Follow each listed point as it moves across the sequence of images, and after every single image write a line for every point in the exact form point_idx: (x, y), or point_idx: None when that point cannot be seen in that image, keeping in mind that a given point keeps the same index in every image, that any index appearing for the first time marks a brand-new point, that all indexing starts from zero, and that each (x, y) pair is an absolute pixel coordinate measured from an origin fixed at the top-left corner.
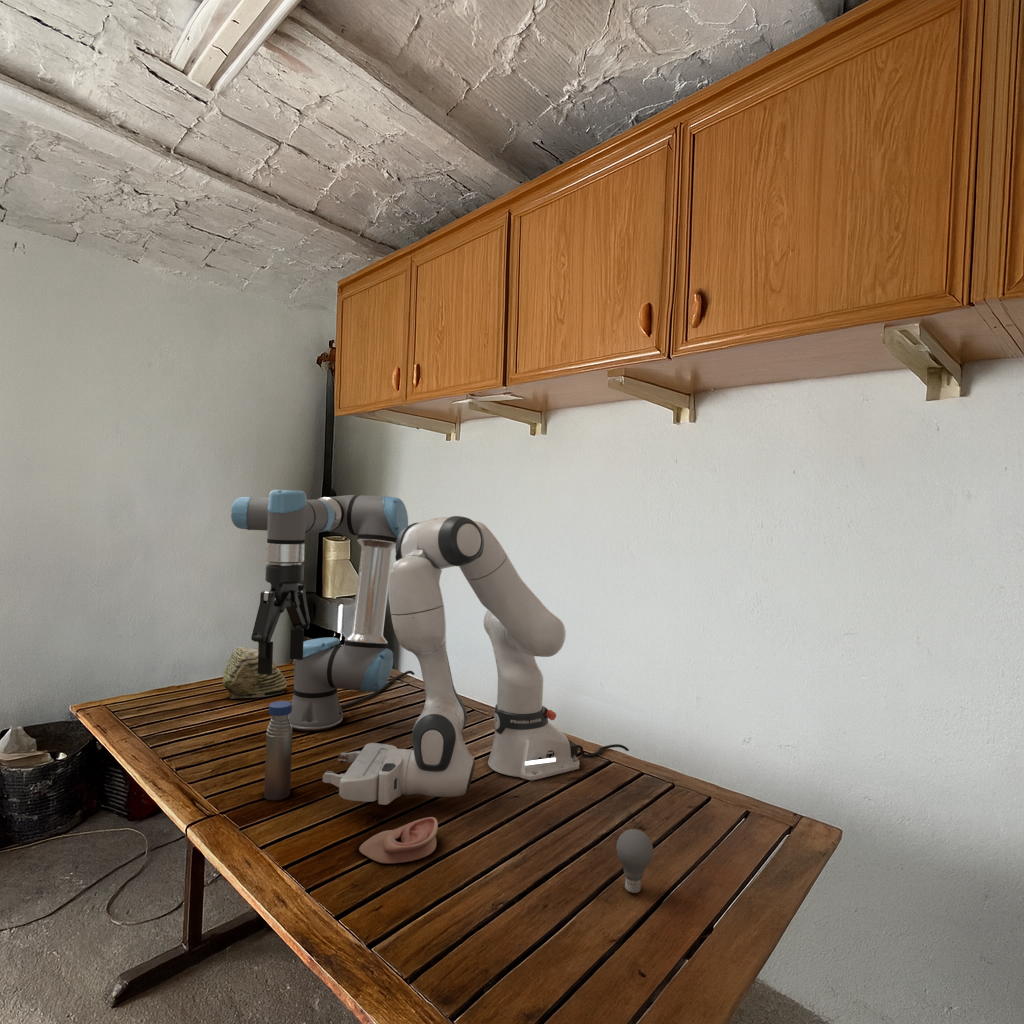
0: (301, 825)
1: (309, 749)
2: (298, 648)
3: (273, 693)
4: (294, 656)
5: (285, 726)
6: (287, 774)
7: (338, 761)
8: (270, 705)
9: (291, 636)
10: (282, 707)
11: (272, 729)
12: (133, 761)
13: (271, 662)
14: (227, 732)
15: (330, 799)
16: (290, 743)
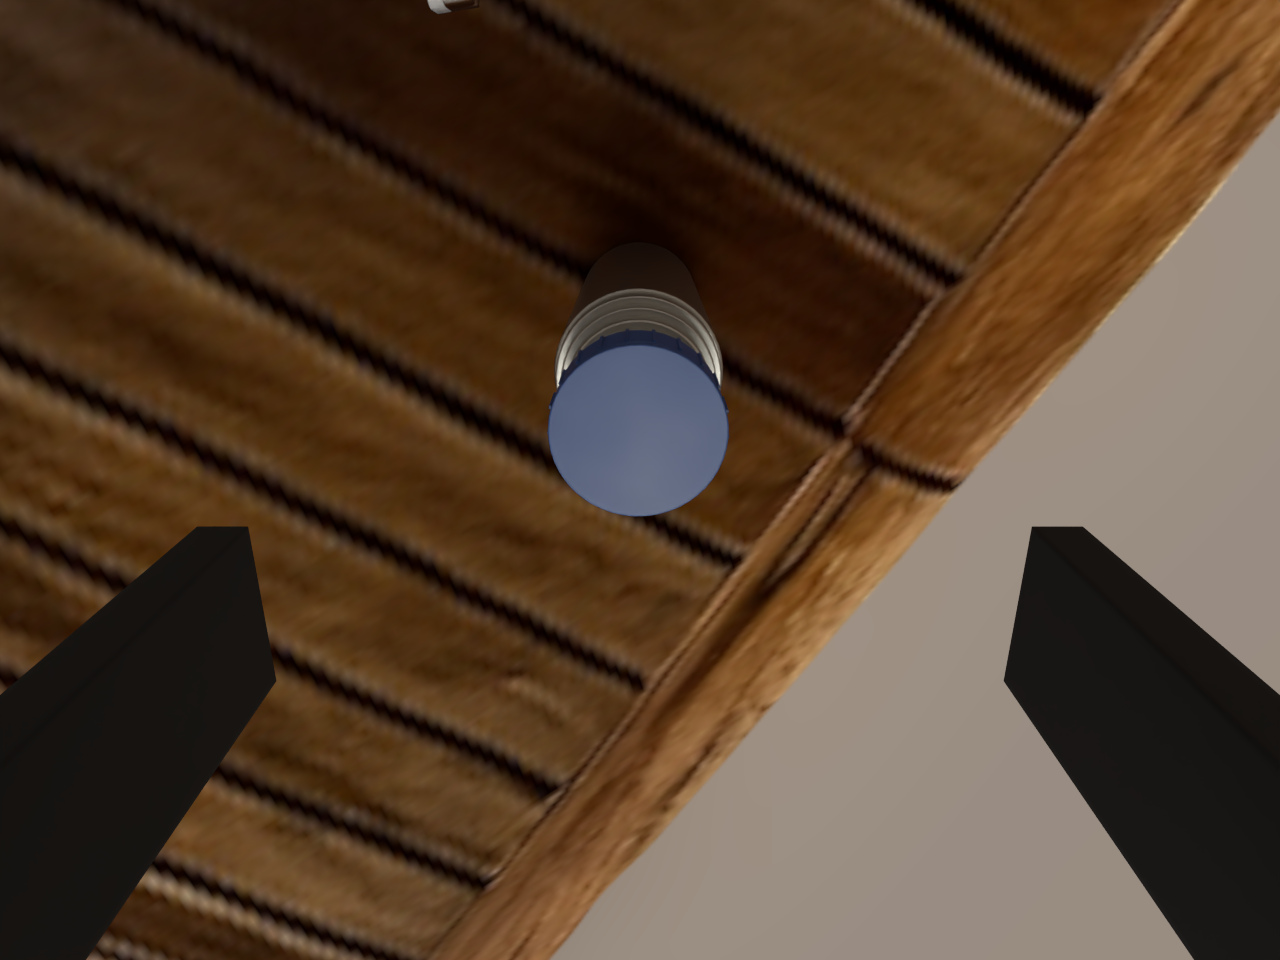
0: (885, 26)
1: (139, 412)
2: (171, 663)
3: None
4: (246, 644)
5: (673, 324)
6: (655, 256)
7: (478, 2)
8: (690, 492)
9: (80, 944)
10: (709, 376)
11: None
12: (541, 946)
13: (1144, 608)
14: None
15: (611, 12)
16: (638, 277)
